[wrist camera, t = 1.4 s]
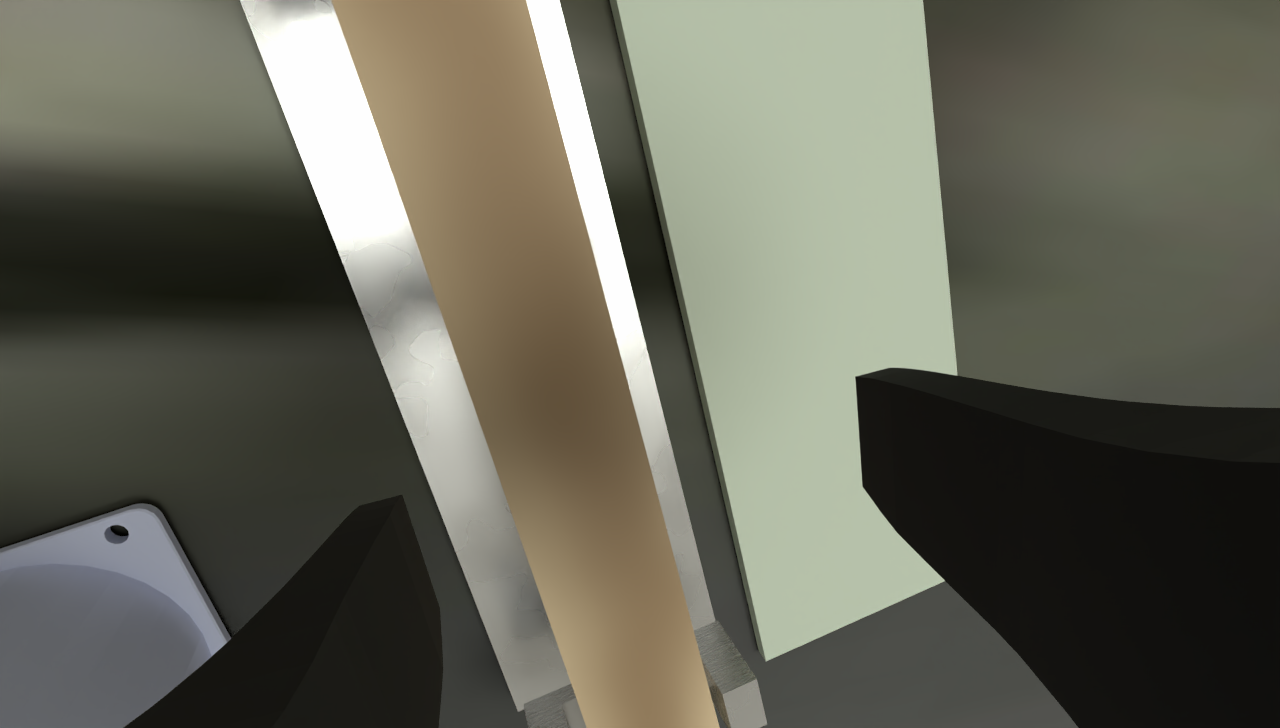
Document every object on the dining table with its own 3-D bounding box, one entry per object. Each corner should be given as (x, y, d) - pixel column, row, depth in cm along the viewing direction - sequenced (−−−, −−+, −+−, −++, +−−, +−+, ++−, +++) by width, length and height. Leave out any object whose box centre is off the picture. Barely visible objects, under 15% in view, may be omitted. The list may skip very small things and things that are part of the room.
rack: (514, 694, 24) (545, 850, 18) (208, -93, 16) (109, -215, 11) (707, 612, 25) (787, 734, 20) (514, -146, 17) (561, -278, 12)
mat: (758, 650, 26) (765, 661, 26) (544, -281, 17) (549, -296, 16) (964, 559, 28) (974, 567, 28) (877, -328, 19) (891, -342, 18)
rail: (604, 769, 21) (634, 862, 18) (261, -212, 13) (221, -313, 10) (698, 726, 22) (741, 810, 19) (430, -237, 13) (436, -339, 11)
